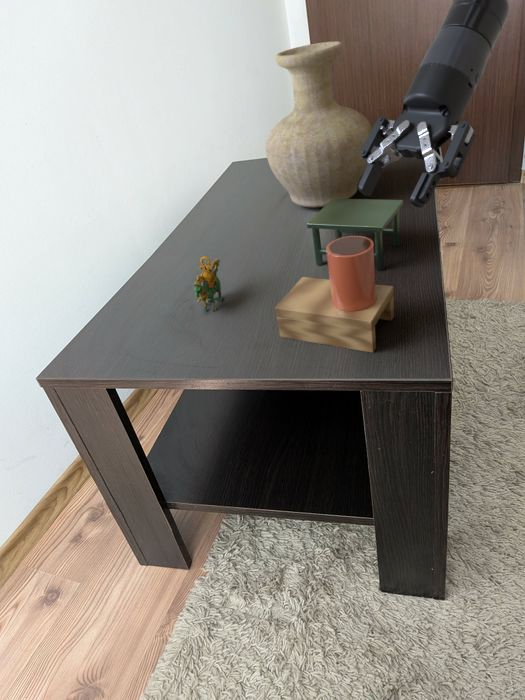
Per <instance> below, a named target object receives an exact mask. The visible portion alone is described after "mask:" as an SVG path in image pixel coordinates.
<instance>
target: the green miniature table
mask: <svg viewBox="0 0 525 700" xmlns="http://www.w3.org/2000/svg"><path fill="white" fill-rule="evenodd" d="M403 206H404V199H373V198H372V199H368V198H349V199H332V200H331V201H330V202H328V203H327V204H326V205H325V206H324V207H321V209H320V210H319V211H318V212H317V213H316V214H315V215H314V216H313V217H312V218H311V219H310V220H309V221H308V222H307V223H306V227H307V229H311V233H312V240H313V248H314V256H315V263H316V266H322V265H324V259H323V258H324V257H323V255H324V256H327V253H326V248H322V243H321V234H320V230H334V236H335V240H336V239H339V238H342V237H343V233H346V234H363V235H364V234H365V235H374V257H375V271H376V272H382V271H384V269H385V267H384V266H385V265H384V263H385V262H384V242H383V235H386V236H392V246H393V247H395V248H399V247H400V246H401V225H400V224H401V222H400V221H401V220H400V219H401V217H400V215H401V214H400V209H401V208H402V207H403ZM391 221H392V228H386V227H387V226H388V225H389V224H390V222H391Z"/></svg>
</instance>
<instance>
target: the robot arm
mask: <svg viewBox="0 0 525 700" xmlns="http://www.w3.org/2000/svg"><path fill="white" fill-rule="evenodd" d="M509 13H510V3H509V1H508V0H452V1H451V4H450V7H449V9H448V10H447V12H446V15H445V17H444V19H443V21H442V23H441V24H440V27H439V30H437V31H438V32H437V33H436V36H435V38H434V39H433V41H432V42H431V44H430V45H429V46H428V48H427V50H426V52H425V54H424V56H423V59H422V60H421V63H420V65H419V67H418V69H417V71H416V73H415V75H414V77H413V79H412V82H411V84H410V86H409V88H408V90H407V92H406V94H405V96H404V98H403V104H402V110H401V113H400V115H399V116H398V117H397V118H396V119H395V120H394V119H388V118H387V117H386V116H385V115H384V114H381V115H379V116H378V117H377V119H376V121H375V122H374V124H373V127H372V130H371V132H370V134H369V136H368V138H367V140H366V142H365V144H364V146H363V147H362V149H361V151H360V156H361V157H362V158H363V159H364V160H365V161H366V162H367V166H366V168H365V170H364V172H363V174H362V176H361V178H360V180H359V182H358V191H359V192H360V193H361V194H362V195H364V196H365V197H371V196H372V195H373V192H374V190H375V188H376V186H377V184H378V182H379V180H380V178H381V176H382V174H383V171H382V170H384V169H385V168H386V167H388V166H389V165H390V164H391V163H396V162H398V161H399V160H401V158H405V159H406V158H407V159H408V158H409V159H411V158H415V159H418V160H422V161H423V160H424V164H425V170H426V172H424V171H422V173H421V175H420V176H419V179H418V181H417V183H416V185H415V187H414V189H413V191H412V193H411V196H410V198H409V202H410V203H411V204H412V205H413V206H414V207H415V208H419V209H421V208H423V207H424V205H426V204H427V203H428V202H430V199H431V197H432V195H433V193H434V191H435V188H436V187H437V186H438V183H439V182H440V181H441V180H443V179H444V178H445V179H446V178H451V179H455V178H457V177H458V176H459V174H460V172H461V170H462V168H463V166H464V163H465V160H466V159H467V157H468V155H469V152H470V150H471V147H472V145H473V143H474V141H475V138H476V136H477V135H476V132H475V130H474V128H473V127H472V126H471V124H469V122H468V120H462V121H461V119H462V117H463V115H464V113H465V111H466V109H467V107H468V105H469V103H470V101H471V99H472V97H473V95H474V93H475V90H476V89H477V87H478V84H479V83H480V81H481V78H482V77H483V74H484V72H485V69H486V66H487V63H488V60H489V58H490V56H491V54H492V51H493V49H494V47H495V45H496V43H497V41H498V39H499V37H500V35H501V33H502V31H503V29H504V27H505V25H506V23H507V20H508V18H509ZM450 140H451V141H450ZM449 141H450V144H449V146H448V148H447V150H446V152H445V154H444V157H443V155H442V154H443V153H442V148H441V147H442V146H444V145H445V144H446V143H447V142H449ZM393 145H394V148H395V149H393V148H392V146H393ZM370 151H371V152H370Z"/></svg>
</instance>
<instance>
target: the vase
mask: <svg viewBox="0 0 525 700" xmlns="http://www.w3.org/2000/svg"><path fill="white" fill-rule="evenodd" d="M343 47H344V45H343V43H342V42H341V41H335V40H334V41H324V42H323V41H322V42H317V43H312V44H306V45H305V44H304V45H301V46H297V47H292V48H289V49H286V50H283V51H281V52H278V53H277V54H275V62H276V64H277V65H278V67H280V68H283V69H285V70H287V71H288V73H289V75H290V78H291V87H292V93H293V95H292V96H293V109H292V111H291V112H290V113H289V114H287V116H285V117H284V118H282V119H281V120H280V121H278V122H277V123H276V124H275V125H274V126H273V128H272V129H271V130H270V131H269V132H268V134H267V136H266V138H265V139H266V140H265V154H266V158H267V162H268V165H269V167H270V169H271V171H272V173H273V175H274V176H275V177H276V179H277V181H278V182H279V183H280V184H281V185H282V187H283V188H284V189H285V190H286V191H287V193H288V195H289V196H290V200H291V201H292V202H293V203H294V204H295V205H297V206H300V207H305V208H323V207H324V206H325V205H326V204H327V203H328V202H330V201H331V200H332V199H352V197H354V196H355V194H356V193H357V191H358V186H359V182H360V179H361V177H362V175H363V173H364V171H365V169H366V167H367V162H366V161H365V160H364V159H363V158H362V157H361V156H360V151H361V149H362V147H363V146H364V144H365V142H366V140H367V138H368V136H369V134H370V132H371V130H372V128H373V127H372V124H371V122H370V121H369V120H368V118H367V117H366V116H365V115H364V114H363V113H361V112H359V111H357V110H356V109H353V108H351V107H348V106H343V105H340V104H339V103H337V101H336V99H335V96H334V95H335V93H334V87H333V77H332V76H333V75H332V64H333V62H334V61H335V59H337V58H338V57H339V56H340V55H341V54H342V51H343ZM370 152H372V150H371V151H370Z"/></svg>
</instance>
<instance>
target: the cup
mask: <svg viewBox="0 0 525 700" xmlns="http://www.w3.org/2000/svg"><path fill="white" fill-rule="evenodd" d="M325 249H326V253H327V255H326V259H327V269H328V270H327V271H328V280H330V288H331V297H332V304H333V305H334V306H335V307H336V308H338V309H340V310H343V311H359V310H364V309H366V308H369V307H370V306H372V305H373V304H374V303H375V301H376V299H377V295H376V285H377V279H376V278H377V277H376V276H377V275H376V259H375V257H374V252H375V242H374V240H372V239H371V238H369V237H367V236H363V235H348V236H342V238H339V239H336V238H335V239H334V240H332V241H330V242H329V243H328V244H327V245H326V248H325Z"/></svg>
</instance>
